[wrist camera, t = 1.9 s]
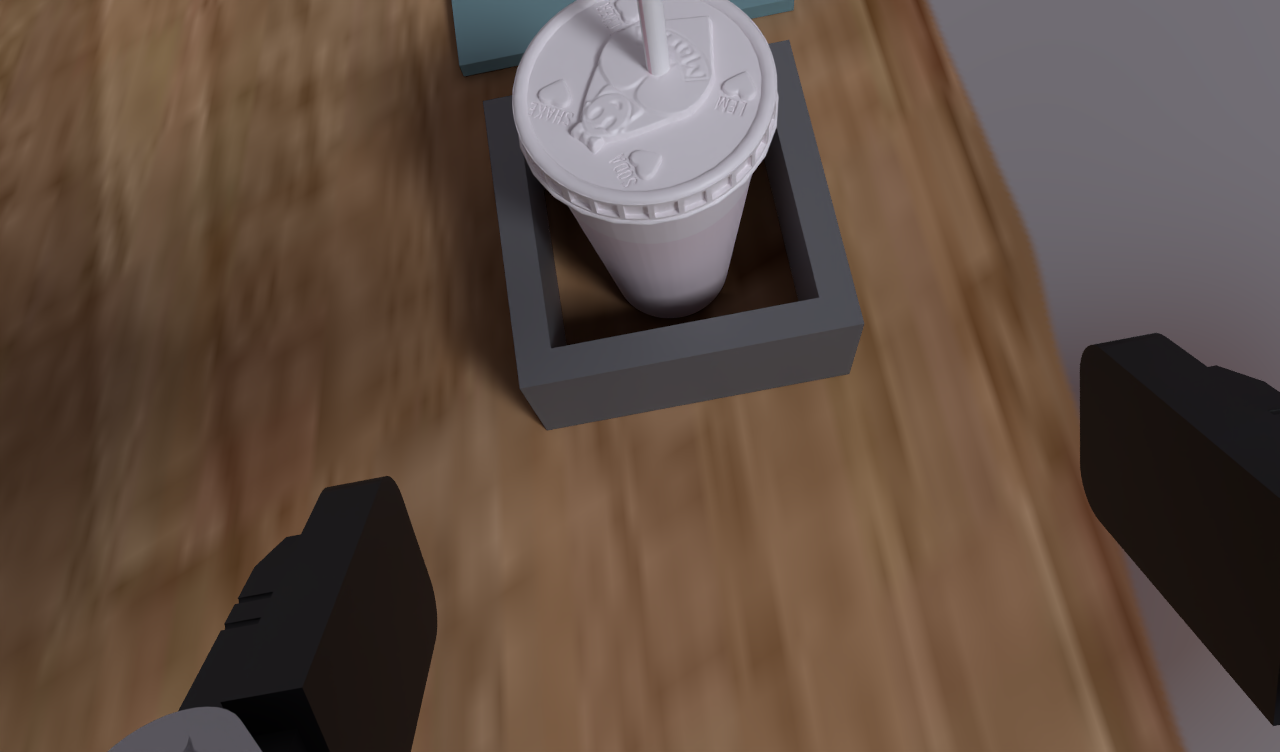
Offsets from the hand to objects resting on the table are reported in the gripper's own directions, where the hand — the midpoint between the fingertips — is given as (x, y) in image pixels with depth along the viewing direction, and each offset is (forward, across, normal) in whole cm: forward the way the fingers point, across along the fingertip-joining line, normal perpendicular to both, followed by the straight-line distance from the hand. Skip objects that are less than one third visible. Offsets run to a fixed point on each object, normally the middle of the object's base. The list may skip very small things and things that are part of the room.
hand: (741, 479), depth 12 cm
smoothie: (+21, 0, +4) cm, 21 cm away
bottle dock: (+21, 0, +4) cm, 21 cm away
